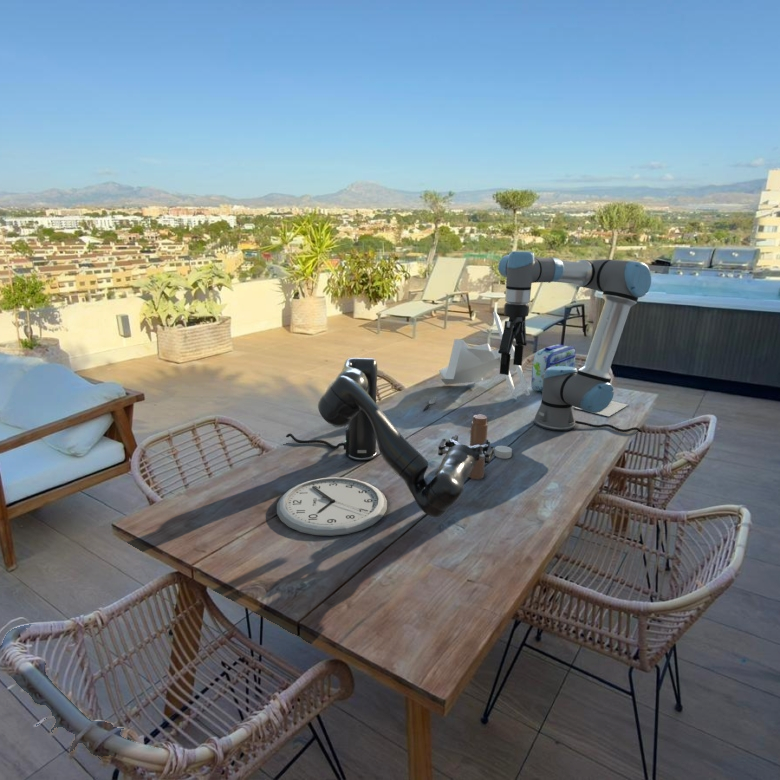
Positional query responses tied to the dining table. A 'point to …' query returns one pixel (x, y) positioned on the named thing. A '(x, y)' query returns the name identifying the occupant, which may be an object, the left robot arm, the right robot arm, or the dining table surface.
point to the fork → (430, 403)
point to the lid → (503, 452)
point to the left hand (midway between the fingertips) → (471, 440)
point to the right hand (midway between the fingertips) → (511, 369)
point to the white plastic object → (478, 363)
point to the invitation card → (610, 408)
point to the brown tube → (476, 438)
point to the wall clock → (331, 506)
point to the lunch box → (550, 362)
